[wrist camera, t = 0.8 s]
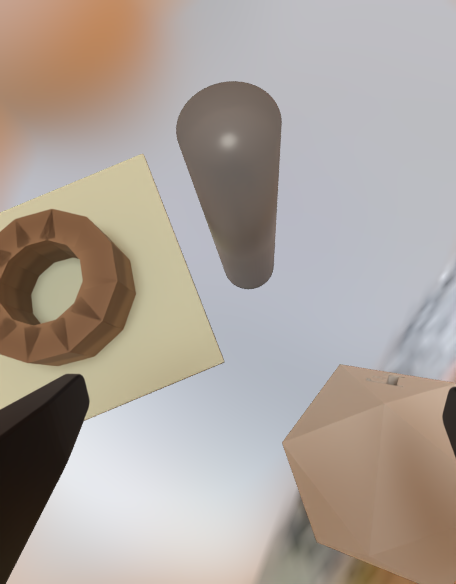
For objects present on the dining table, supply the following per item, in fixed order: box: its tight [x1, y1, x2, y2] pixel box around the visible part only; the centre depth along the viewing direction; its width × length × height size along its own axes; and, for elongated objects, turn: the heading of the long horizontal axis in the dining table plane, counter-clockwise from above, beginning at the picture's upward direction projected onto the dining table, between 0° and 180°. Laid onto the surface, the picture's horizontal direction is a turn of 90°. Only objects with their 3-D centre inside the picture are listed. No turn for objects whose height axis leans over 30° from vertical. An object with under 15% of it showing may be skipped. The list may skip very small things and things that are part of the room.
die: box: [282, 364, 456, 584], centre depth 16 cm, size 8×9×10 cm
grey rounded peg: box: [176, 81, 282, 289], centre depth 17 cm, size 3×3×13 cm
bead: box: [0, 209, 136, 366], centre depth 22 cm, size 9×9×3 cm
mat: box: [0, 154, 224, 421], centre depth 24 cm, size 16×16×1 cm
